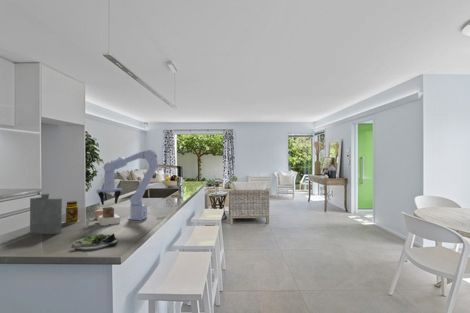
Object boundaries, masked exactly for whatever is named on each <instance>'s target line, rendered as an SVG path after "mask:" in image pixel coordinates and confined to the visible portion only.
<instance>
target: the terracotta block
mask: <svg viewBox="0 0 470 313" xmlns="http://www.w3.org/2000/svg"><path fill="white" fill-rule="evenodd" d="M102 215H103V208H102V209H95V211H94V220H98V216H102Z"/></svg>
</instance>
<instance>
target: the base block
mask: <svg viewBox="0 0 470 313" xmlns="http://www.w3.org/2000/svg"><path fill="white" fill-rule="evenodd" d="M97 223H98V224H99V225H100V226H101V225H103V226H109V224H111V225H117V224H121V217H120V216H119V215H118V214H117V213H114V217H109V218H104V217H103V215H102V216H98V219H97Z"/></svg>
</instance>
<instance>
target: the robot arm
mask: <svg viewBox="0 0 470 313" xmlns="http://www.w3.org/2000/svg"><path fill="white" fill-rule="evenodd" d="M156 153H157V152H156V151H155V150H152V149H147V150H143V151H139V152H137V153H134V154H132V155H130V156H127V157H121V156H119V157H118V158H117V159H115V160H110V162H108V161H107V162H106V163H104V165H103V170H104V176H103V177H104V182H103V183H104V187H103V188H101V189H96V190H95V191H96V194H97V195H98V196H99V198H100V202H101V203H100V204H101V205H104V204H105V203H104V202H105V201H104V200H105V193H114V203H115V204H118V200H119V197H120V195H121V194H122V193H121V192H123V188H121V187H117V188H116V187H115V182H116V180H115V177H116V176H115V171H116V170H119V169H121V168H124V167H126V166H128V163H131V162H133V161H136V160H139V159H142V160H143V159H145V160H146V161H147V164H148V168H147V169H146V172H145V174H144V176H143V178H142V180H141V181H140V183H139V185H138V187H137V189H136V190H135V192H134V193H133V195H131V196H130V197H129V202H130V210H129V212H130V217H128V218H127V220H131V221H132V220H133V221H134V220H135V221H142V220H145V219H147V218H148V207H147V205H146V204H144V203H143V199H144V195H145V192H146V190H147V187H148V186H149V184H150V182H151V181H152V178H153V176H154V174H155V173H156V171H157V169H158V166H159V164H158V163H159V162H158V155H157V154H156Z"/></svg>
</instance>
